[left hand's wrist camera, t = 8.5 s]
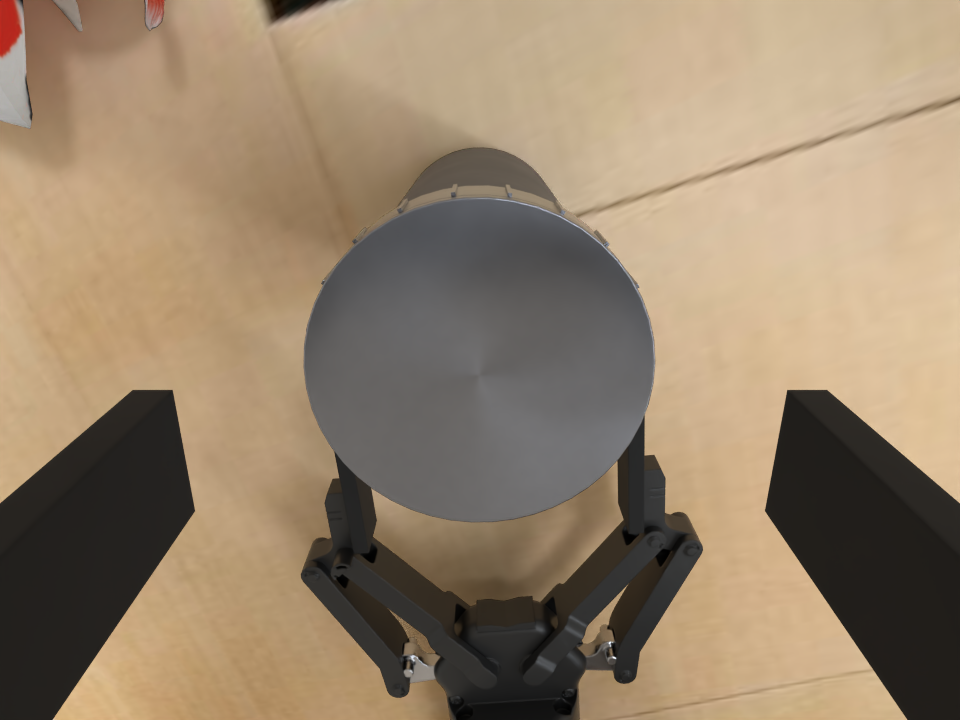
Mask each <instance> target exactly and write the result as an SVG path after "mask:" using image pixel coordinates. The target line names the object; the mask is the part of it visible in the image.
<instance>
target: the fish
mask: <svg viewBox="0 0 960 720" xmlns="http://www.w3.org/2000/svg"><path fill="white" fill-rule="evenodd" d="M52 1H53V2H54V3H55V4H56V5H57V6H58V7H59V8H60V9H61V11H62V12H63V13H64V14H65V15H66V17H67V18H68V19H69V20H70V21H71V23H72V24H73V25H74V26H75V28H76V29H77V30H78V31H83V29H82V24H81V19H80V13H79V8H78V4H77V2H76V0H52ZM144 1H145V24H146V27H147V28H148V30H149V31H150V30H151V29H154V28H156V27H157V26H158V25H159V24H160V23H161V22H162V19H163V15H164V8H163V7H164V0H144ZM0 121H3V122H7V123H11V124H14V125H18V126H22V127H26V128H29V129H30V127H31V121H32V109H31V103H30V97H29V92H28V86H27V81H26V50H25V30H24V12H23V0H0Z"/></svg>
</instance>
